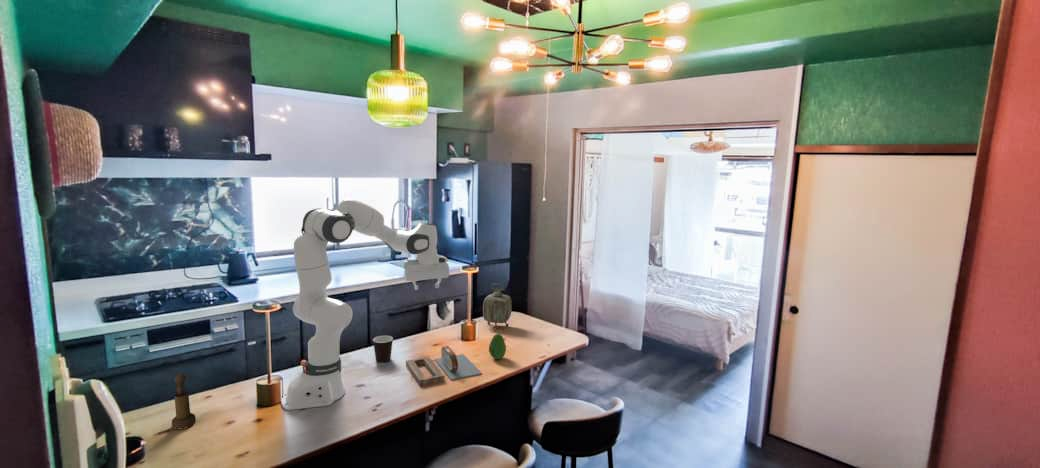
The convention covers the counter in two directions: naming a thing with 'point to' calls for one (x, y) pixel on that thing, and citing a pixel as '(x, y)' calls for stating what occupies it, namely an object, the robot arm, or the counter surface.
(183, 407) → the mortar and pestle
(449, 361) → the tin
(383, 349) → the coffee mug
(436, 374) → the frame
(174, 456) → the counter surface
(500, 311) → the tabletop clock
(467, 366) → the mat
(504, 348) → the avocado
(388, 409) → the counter surface
